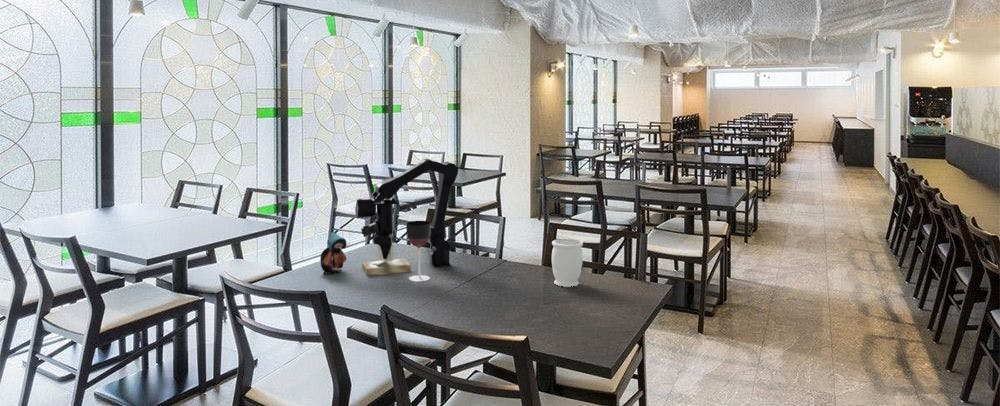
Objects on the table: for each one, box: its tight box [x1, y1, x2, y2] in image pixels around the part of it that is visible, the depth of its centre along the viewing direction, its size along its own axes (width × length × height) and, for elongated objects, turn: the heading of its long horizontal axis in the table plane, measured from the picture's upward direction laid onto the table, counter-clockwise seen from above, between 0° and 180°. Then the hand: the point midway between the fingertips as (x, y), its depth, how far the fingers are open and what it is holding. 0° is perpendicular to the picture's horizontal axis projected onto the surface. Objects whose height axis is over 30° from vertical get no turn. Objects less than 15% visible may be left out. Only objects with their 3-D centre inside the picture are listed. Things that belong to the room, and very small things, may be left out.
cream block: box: [376, 244, 395, 266], centre depth 236 cm, size 6×6×7 cm
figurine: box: [319, 230, 348, 276], centre depth 234 cm, size 10×7×15 cm
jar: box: [551, 238, 584, 288], centre depth 221 cm, size 11×10×15 cm
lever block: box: [361, 257, 412, 277], centre depth 238 cm, size 16×10×3 cm, turn 112°
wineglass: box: [406, 220, 431, 282], centre depth 227 cm, size 8×9×20 cm
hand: (385, 257), depth 238 cm, fingers closed on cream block, 3 cm apart
